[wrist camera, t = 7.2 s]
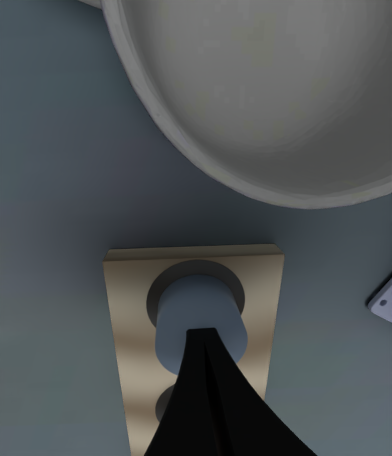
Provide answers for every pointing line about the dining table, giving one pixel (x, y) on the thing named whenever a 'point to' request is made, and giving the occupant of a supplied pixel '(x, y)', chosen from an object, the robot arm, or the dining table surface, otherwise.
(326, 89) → the teacup
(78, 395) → the dining table surface
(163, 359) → the slate button
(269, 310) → the button panel
